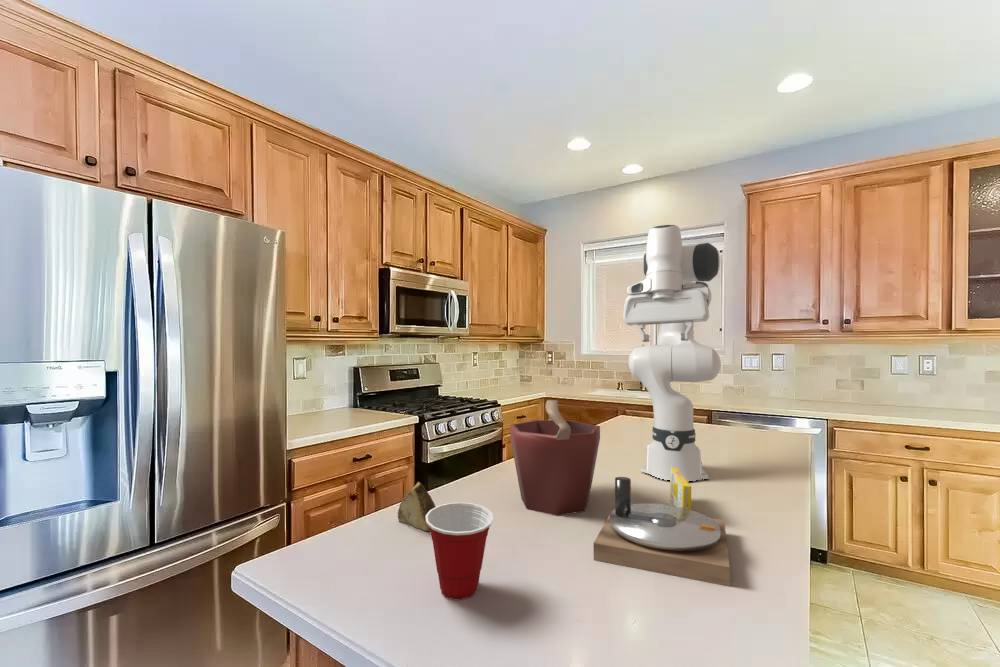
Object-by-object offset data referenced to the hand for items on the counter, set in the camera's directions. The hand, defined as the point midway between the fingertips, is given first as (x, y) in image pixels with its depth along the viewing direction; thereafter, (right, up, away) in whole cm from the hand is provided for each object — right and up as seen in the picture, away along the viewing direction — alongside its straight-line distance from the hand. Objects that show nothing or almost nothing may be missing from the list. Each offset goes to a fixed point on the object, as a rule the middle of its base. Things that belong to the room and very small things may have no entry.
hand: (664, 341), depth 113 cm
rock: (-58, -40, -14) cm, 72 cm away
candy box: (+1, -40, -6) cm, 41 cm away
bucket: (-28, -40, -1) cm, 49 cm away
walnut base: (-9, -39, -25) cm, 48 cm away
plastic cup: (-47, -39, -41) cm, 74 cm away
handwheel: (-9, -36, -25) cm, 45 cm away
